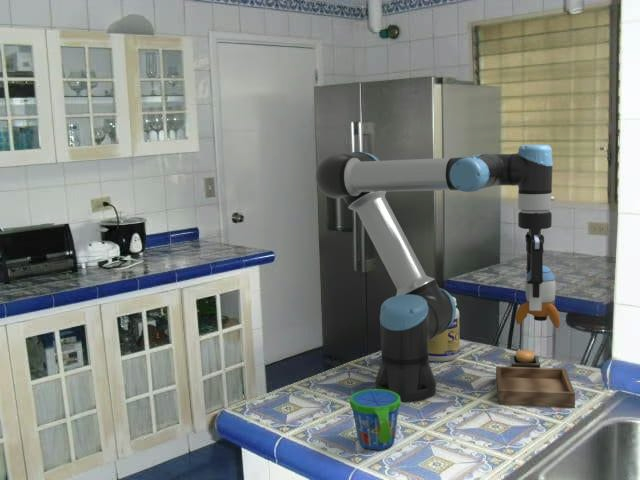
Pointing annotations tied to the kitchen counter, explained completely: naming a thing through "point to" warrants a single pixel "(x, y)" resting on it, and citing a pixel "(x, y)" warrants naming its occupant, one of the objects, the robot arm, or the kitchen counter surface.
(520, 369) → the open wooden tray
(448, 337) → the supplement tub
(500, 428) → the kitchen counter surface
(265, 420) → the kitchen counter surface
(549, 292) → the toy rocket
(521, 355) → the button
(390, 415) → the snack cup
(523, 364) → the button housing
